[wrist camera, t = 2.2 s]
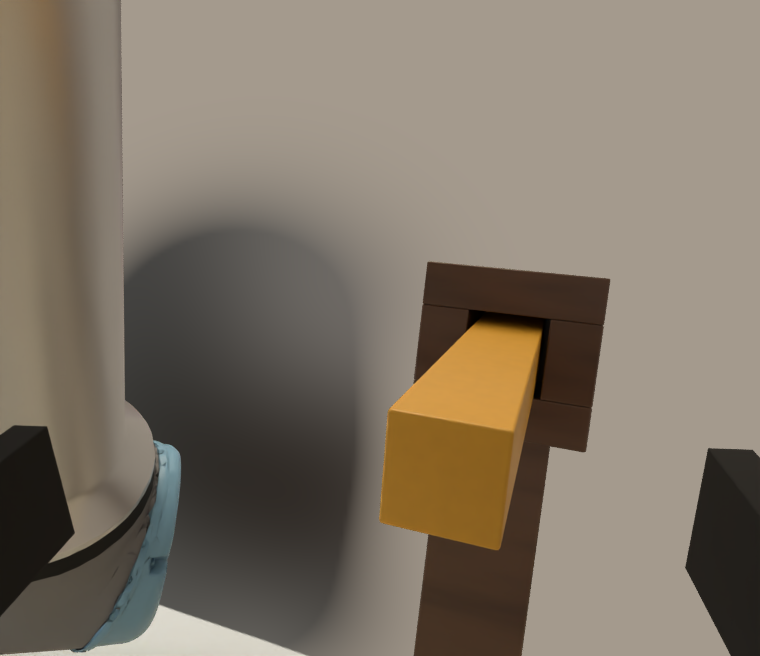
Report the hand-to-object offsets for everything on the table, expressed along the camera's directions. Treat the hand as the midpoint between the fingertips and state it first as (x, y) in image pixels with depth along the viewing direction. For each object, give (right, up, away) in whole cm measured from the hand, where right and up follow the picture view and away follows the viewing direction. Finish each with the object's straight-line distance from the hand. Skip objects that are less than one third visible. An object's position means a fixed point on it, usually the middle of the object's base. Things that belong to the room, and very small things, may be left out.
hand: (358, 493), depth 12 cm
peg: (+5, 0, +11) cm, 12 cm away
